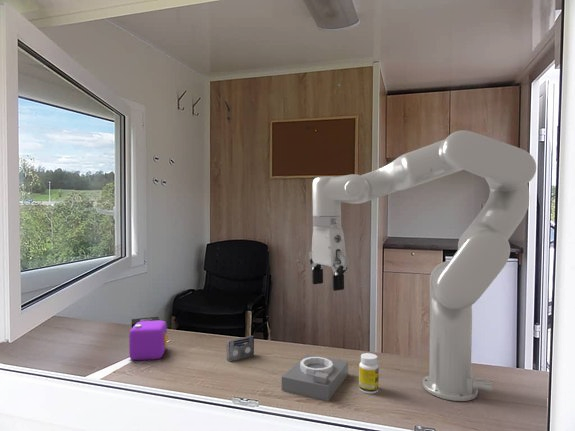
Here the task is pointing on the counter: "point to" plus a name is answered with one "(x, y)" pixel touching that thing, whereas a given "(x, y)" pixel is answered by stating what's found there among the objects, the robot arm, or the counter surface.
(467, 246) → the robot arm
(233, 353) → the mini dv tape
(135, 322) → the battery charger
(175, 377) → the counter surface
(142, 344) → the toy camera
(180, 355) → the counter surface
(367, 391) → the supplement bottle
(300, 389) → the grey ring holder base
